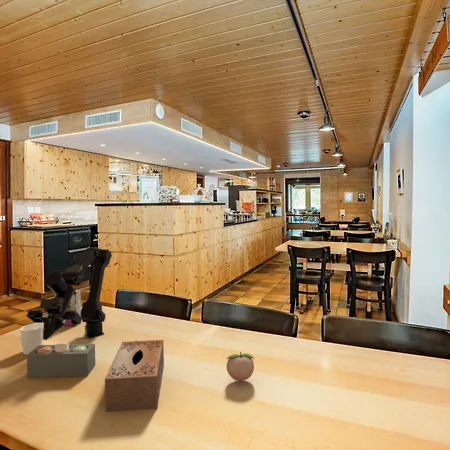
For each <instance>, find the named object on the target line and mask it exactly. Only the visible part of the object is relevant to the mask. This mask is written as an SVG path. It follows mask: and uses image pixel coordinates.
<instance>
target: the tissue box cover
mask: <svg viewBox="0 0 450 450" xmlns="http://www.w3.org/2000/svg"><path fill="white" fill-rule="evenodd" d="M164 347H165V346H164V339H155V340H154V339H152V340H133V341H132V340H131V341H130V340H129V341H122V342H121V344H120V346H119V348H118V350H117V352H116V354H115V356H114V359H113V361H112V363H111V365H110V367H109V369H108V371H107V373H106V375H105V378H104V397H105V398H104V399H105V401H104V402H105V403H104V404H105V413H117V412H118V413H119V412H130V411H131V412H132V411H143V410H144V411H145V410H146V411H147V410H156V409H157V410H158V408H159V407H158V406H159V401H160V400H159V399H160V393H161V389H162V383H163V381H162V380H163V375H164V373H163V372H164V368H165V360H164V359H165V358H164V353H165V352H164Z"/></svg>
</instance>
